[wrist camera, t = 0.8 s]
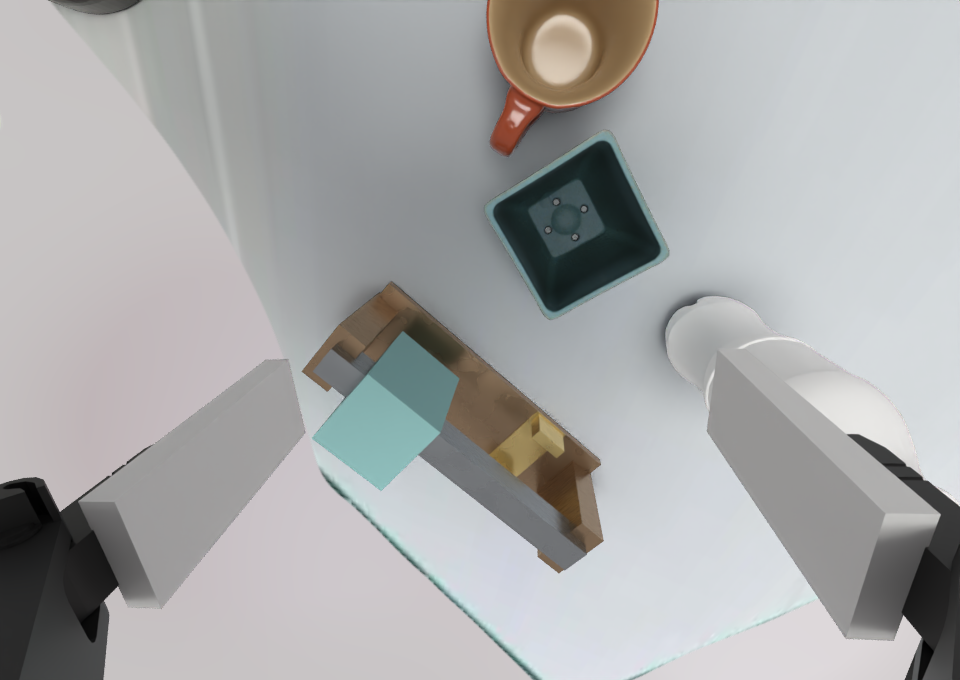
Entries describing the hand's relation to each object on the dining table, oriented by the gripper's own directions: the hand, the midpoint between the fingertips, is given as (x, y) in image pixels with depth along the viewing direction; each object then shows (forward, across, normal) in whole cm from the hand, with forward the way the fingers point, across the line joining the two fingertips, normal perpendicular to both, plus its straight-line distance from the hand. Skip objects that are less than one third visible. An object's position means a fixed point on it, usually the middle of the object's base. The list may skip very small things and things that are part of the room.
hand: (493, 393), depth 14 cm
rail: (+26, -5, -14) cm, 30 cm away
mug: (+26, +3, +12) cm, 29 cm away
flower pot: (+26, +4, +2) cm, 26 cm away
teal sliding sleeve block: (+17, -9, -10) cm, 22 cm away
